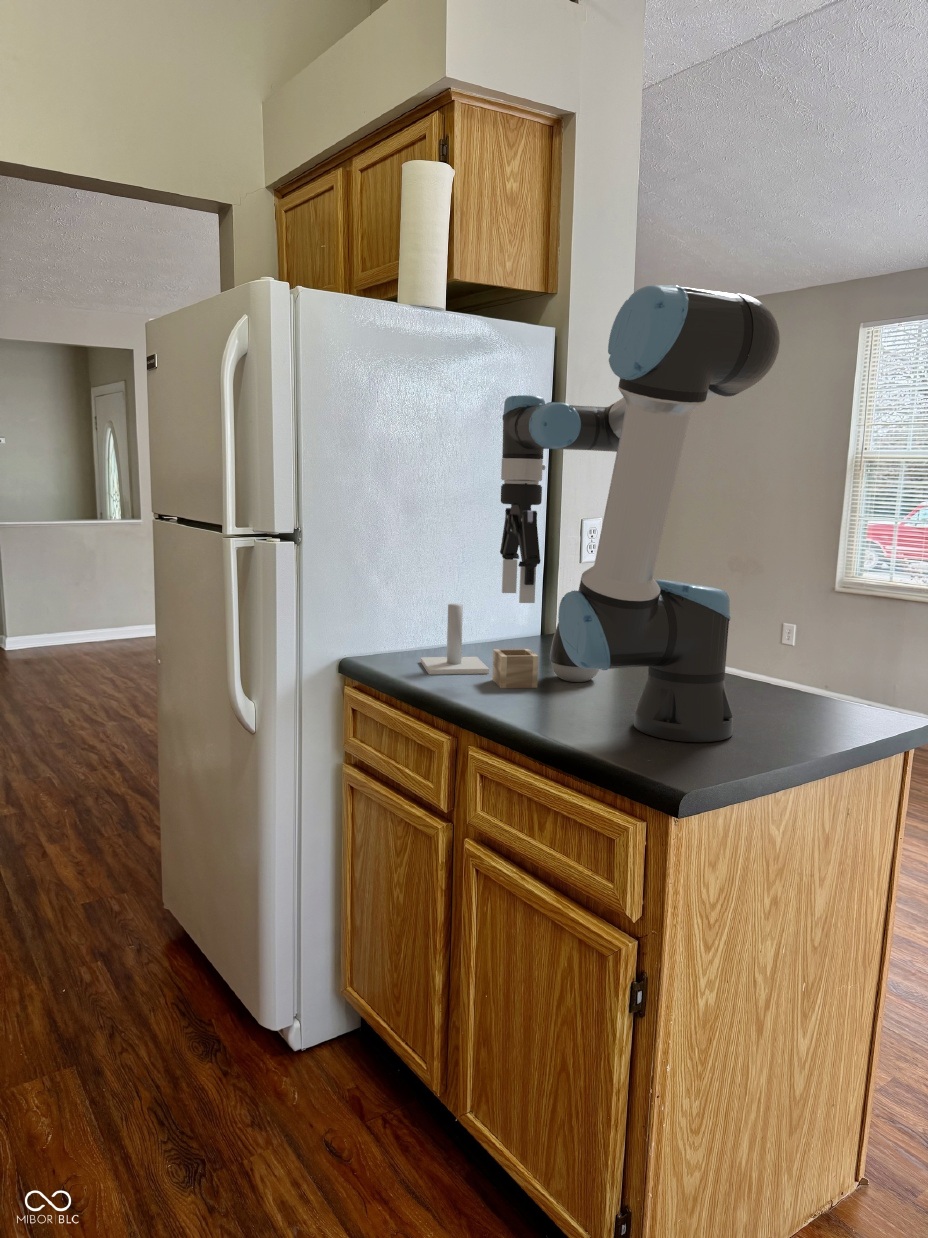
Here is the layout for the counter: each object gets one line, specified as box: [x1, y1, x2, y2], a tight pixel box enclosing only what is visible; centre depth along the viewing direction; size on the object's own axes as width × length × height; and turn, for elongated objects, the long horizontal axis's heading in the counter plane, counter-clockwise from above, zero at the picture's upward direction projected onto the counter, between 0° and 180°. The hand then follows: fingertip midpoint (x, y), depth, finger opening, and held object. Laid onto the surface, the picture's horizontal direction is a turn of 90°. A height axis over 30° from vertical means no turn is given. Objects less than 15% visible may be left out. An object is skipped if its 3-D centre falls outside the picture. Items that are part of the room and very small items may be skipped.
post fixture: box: [420, 603, 490, 676], centre depth 179 cm, size 12×12×13 cm
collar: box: [492, 648, 539, 689], centre depth 167 cm, size 7×7×6 cm
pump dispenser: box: [549, 621, 600, 683], centre depth 171 cm, size 10×10×15 cm
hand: (517, 597), depth 165 cm, fingers open, 13 cm apart
